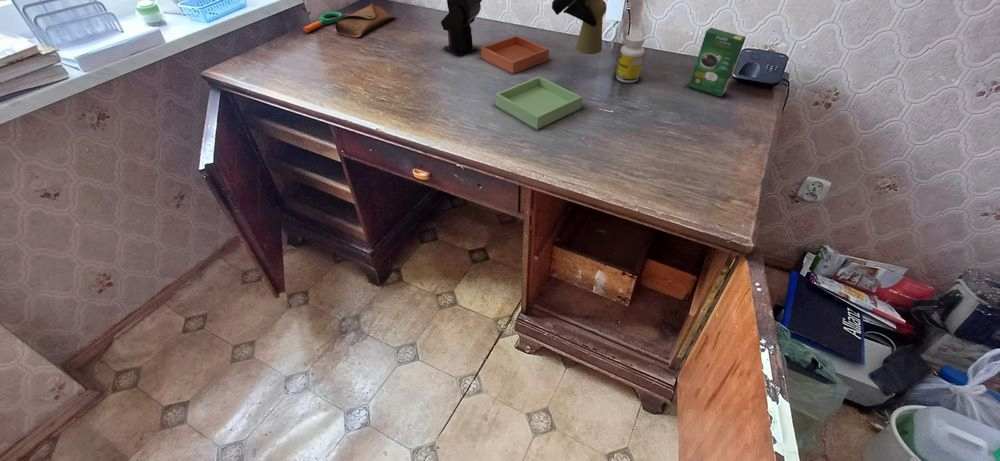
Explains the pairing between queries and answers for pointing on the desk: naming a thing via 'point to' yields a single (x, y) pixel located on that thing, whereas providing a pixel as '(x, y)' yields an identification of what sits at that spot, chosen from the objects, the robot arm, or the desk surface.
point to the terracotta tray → (515, 54)
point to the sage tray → (538, 102)
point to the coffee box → (716, 61)
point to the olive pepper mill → (592, 30)
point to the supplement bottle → (630, 59)
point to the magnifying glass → (323, 21)
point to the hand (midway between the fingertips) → (598, 21)
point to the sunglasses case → (362, 21)
